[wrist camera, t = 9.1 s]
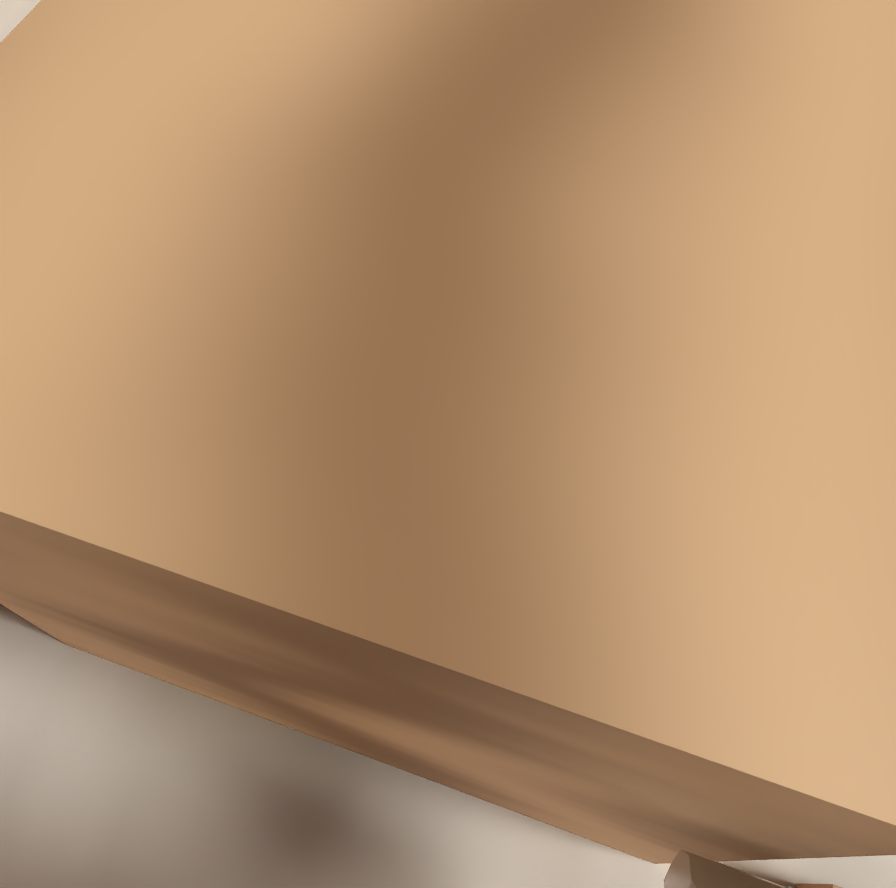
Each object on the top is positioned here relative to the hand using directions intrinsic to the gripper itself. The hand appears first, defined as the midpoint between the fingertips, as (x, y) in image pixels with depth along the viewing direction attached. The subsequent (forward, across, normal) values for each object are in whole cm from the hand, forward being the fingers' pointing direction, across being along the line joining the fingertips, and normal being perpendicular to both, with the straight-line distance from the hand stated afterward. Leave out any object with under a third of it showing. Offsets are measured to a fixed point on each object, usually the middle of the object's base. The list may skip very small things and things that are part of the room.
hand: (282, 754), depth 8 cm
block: (+7, 0, +1) cm, 7 cm away
